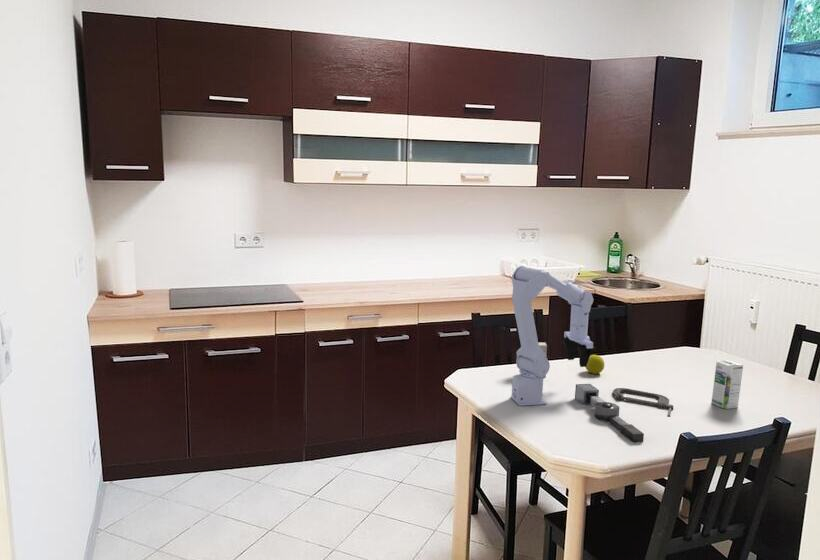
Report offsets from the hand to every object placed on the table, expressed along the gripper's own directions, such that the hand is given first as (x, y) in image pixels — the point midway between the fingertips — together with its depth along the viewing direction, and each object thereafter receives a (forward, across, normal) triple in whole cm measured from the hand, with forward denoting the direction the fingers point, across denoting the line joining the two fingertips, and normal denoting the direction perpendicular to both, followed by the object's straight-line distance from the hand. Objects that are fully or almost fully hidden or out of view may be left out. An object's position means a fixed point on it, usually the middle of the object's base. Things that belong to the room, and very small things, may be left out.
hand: (576, 363), depth 201 cm
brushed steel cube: (+10, -11, +3) cm, 15 cm away
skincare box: (+10, +17, +6) cm, 20 cm away
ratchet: (+9, -28, +5) cm, 30 cm away
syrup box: (+10, -24, -40) cm, 48 cm away
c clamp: (+11, -15, -16) cm, 24 cm away
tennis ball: (+10, +14, -17) cm, 25 cm away
